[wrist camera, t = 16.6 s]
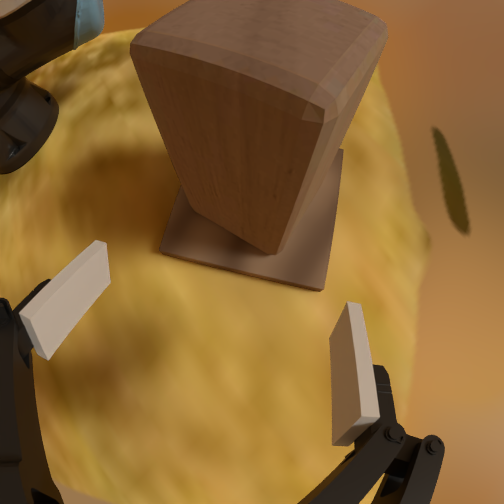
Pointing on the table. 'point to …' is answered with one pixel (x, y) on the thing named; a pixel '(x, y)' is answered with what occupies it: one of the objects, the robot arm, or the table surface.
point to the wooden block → (256, 103)
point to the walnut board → (251, 258)
